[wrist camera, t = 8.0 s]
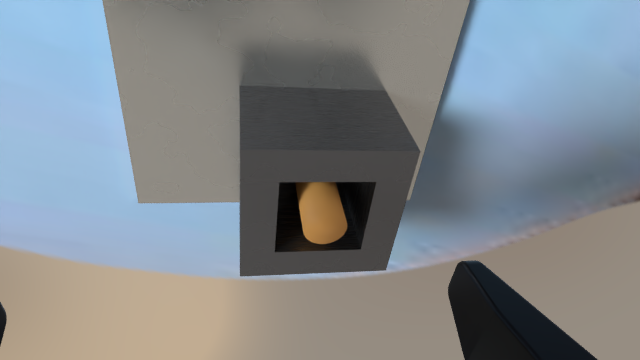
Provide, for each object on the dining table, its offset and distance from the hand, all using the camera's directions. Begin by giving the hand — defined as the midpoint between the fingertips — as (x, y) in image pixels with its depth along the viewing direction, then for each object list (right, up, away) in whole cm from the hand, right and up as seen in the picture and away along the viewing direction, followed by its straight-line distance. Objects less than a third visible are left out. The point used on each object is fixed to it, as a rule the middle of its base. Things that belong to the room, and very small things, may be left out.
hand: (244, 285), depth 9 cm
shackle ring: (+1, +3, +11) cm, 12 cm away
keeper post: (+1, +4, +11) cm, 12 cm away
